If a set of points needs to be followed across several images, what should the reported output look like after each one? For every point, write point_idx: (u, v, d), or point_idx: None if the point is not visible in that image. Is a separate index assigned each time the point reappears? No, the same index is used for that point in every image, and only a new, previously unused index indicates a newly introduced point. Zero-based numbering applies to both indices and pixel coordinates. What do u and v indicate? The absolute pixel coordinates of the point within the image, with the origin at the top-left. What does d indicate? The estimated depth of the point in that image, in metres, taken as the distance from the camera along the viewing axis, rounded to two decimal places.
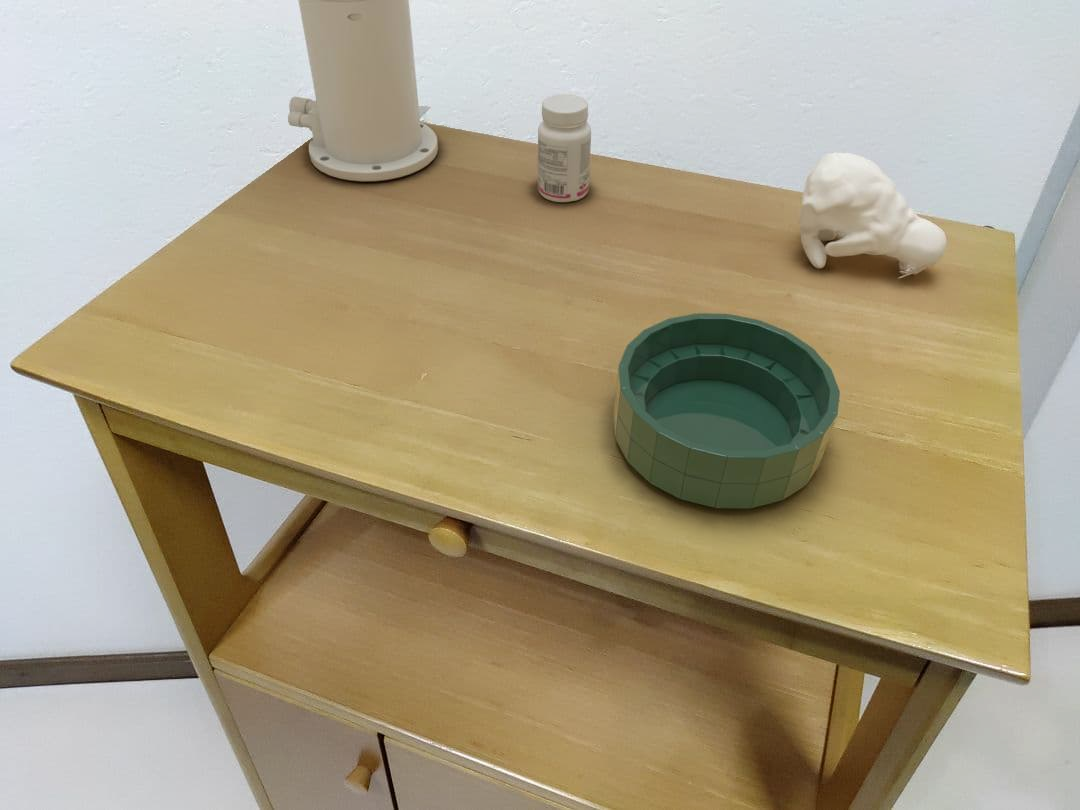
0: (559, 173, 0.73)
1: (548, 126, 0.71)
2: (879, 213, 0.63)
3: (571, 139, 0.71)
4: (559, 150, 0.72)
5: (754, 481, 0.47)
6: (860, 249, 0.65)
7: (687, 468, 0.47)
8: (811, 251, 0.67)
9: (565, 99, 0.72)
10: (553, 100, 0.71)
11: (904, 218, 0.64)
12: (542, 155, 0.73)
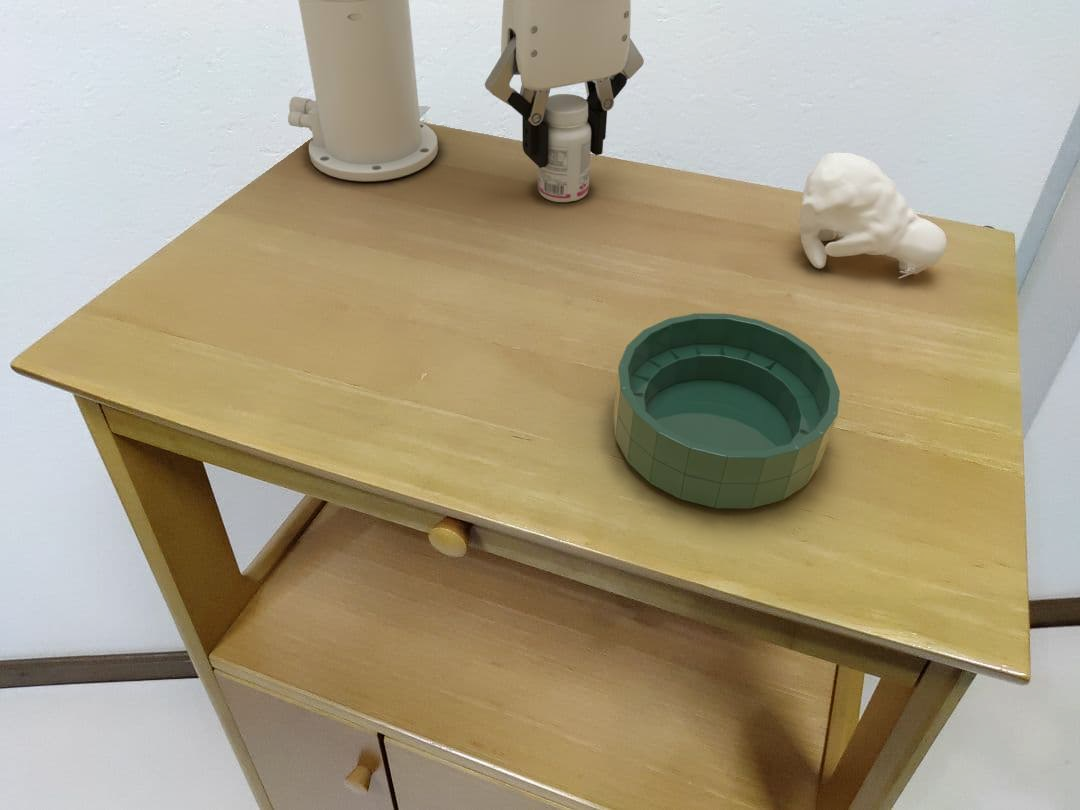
0: (559, 173, 0.73)
1: (548, 126, 0.71)
2: (879, 213, 0.63)
3: (571, 139, 0.71)
4: (559, 150, 0.72)
5: (754, 481, 0.47)
6: (860, 249, 0.65)
7: (687, 468, 0.47)
8: (811, 251, 0.67)
9: (565, 99, 0.72)
10: (553, 100, 0.71)
11: (904, 218, 0.64)
12: None
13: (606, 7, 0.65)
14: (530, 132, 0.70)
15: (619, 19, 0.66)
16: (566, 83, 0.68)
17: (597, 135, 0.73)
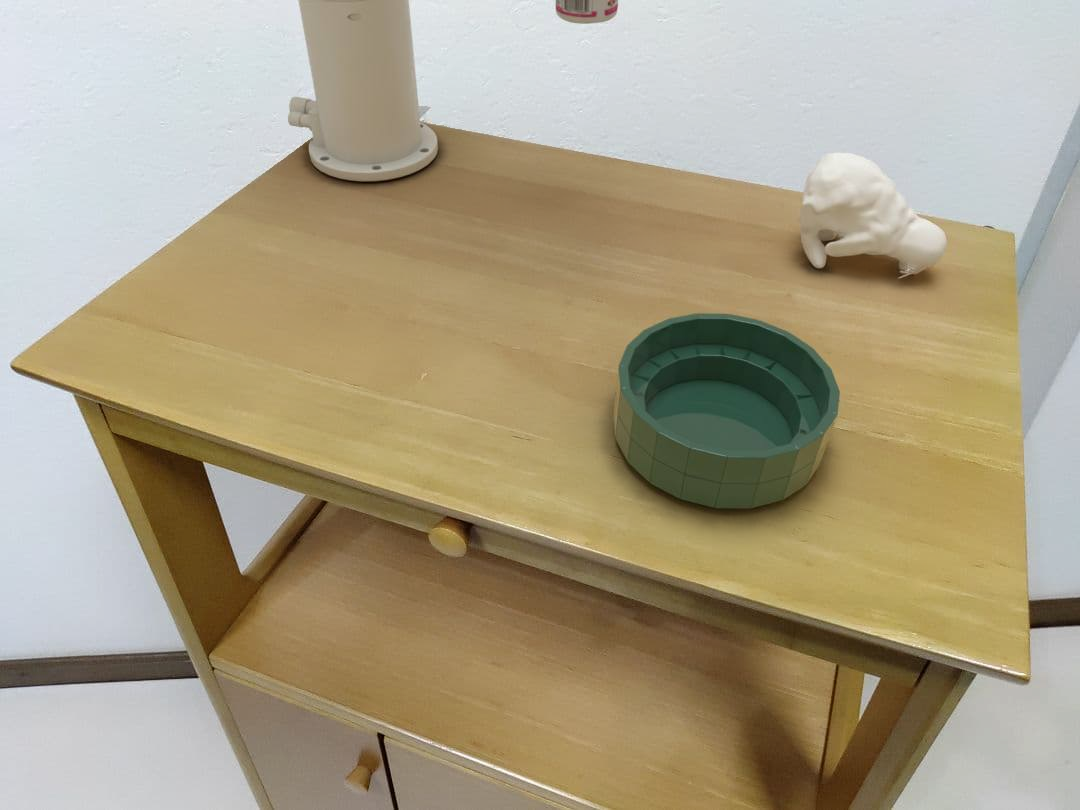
0: None
1: None
2: (879, 213, 0.63)
3: None
4: None
5: (754, 481, 0.47)
6: (861, 249, 0.65)
7: (687, 468, 0.47)
8: (811, 251, 0.67)
9: None
10: None
11: (905, 219, 0.64)
12: None
13: None
14: None
15: None
16: None
17: None
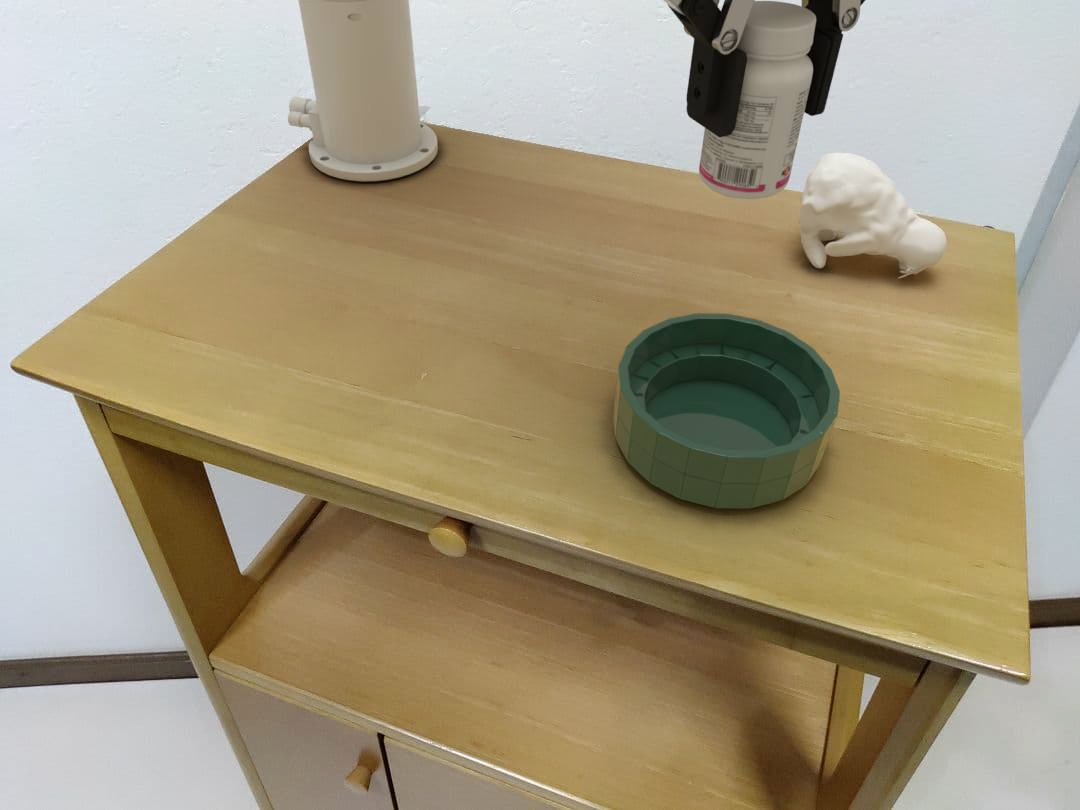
0: (752, 147, 0.40)
1: None
2: (879, 213, 0.63)
3: (784, 82, 0.38)
4: (759, 102, 0.39)
5: (754, 481, 0.47)
6: (860, 249, 0.65)
7: (687, 468, 0.47)
8: (811, 251, 0.67)
9: (771, 8, 0.39)
10: None
11: (904, 218, 0.64)
12: None
13: None
14: (711, 69, 0.38)
15: None
16: None
17: (822, 78, 0.40)
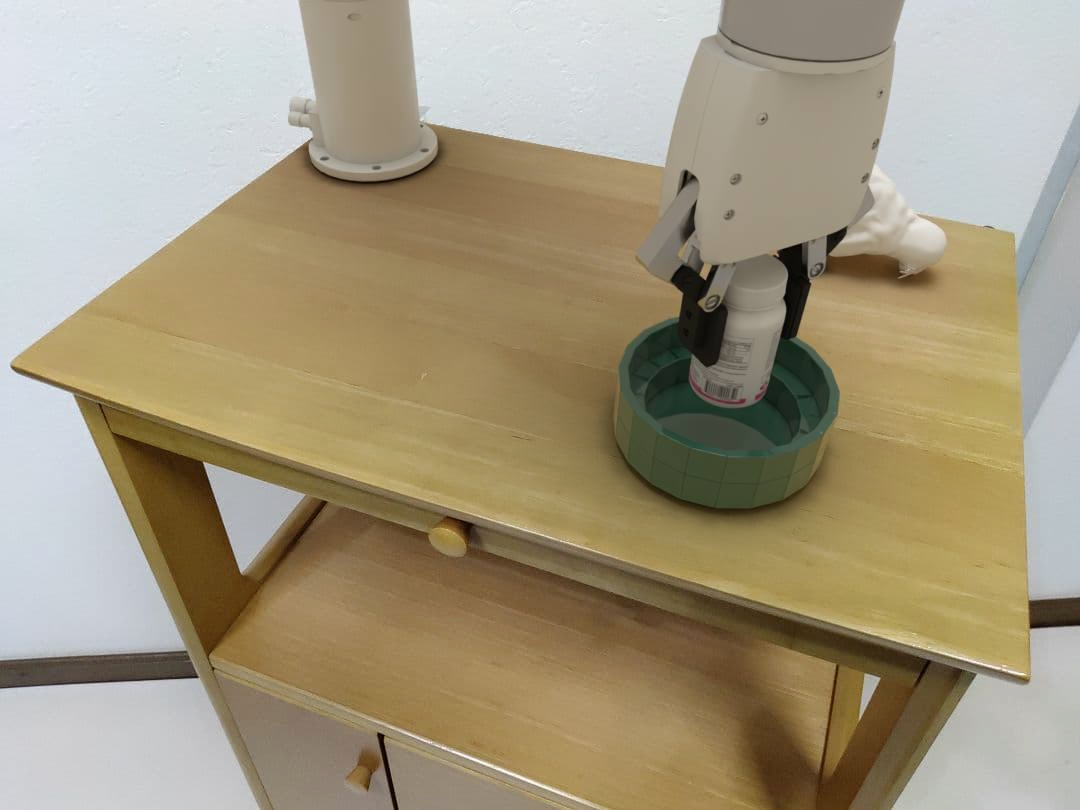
0: (734, 372, 0.47)
1: None
2: (879, 213, 0.63)
3: (761, 327, 0.45)
4: (739, 342, 0.45)
5: (754, 481, 0.47)
6: (860, 249, 0.65)
7: (687, 468, 0.47)
8: None
9: (749, 261, 0.45)
10: None
11: (904, 218, 0.64)
12: None
13: (851, 136, 0.38)
14: (697, 319, 0.44)
15: (865, 152, 0.40)
16: (768, 251, 0.41)
17: (793, 314, 0.46)
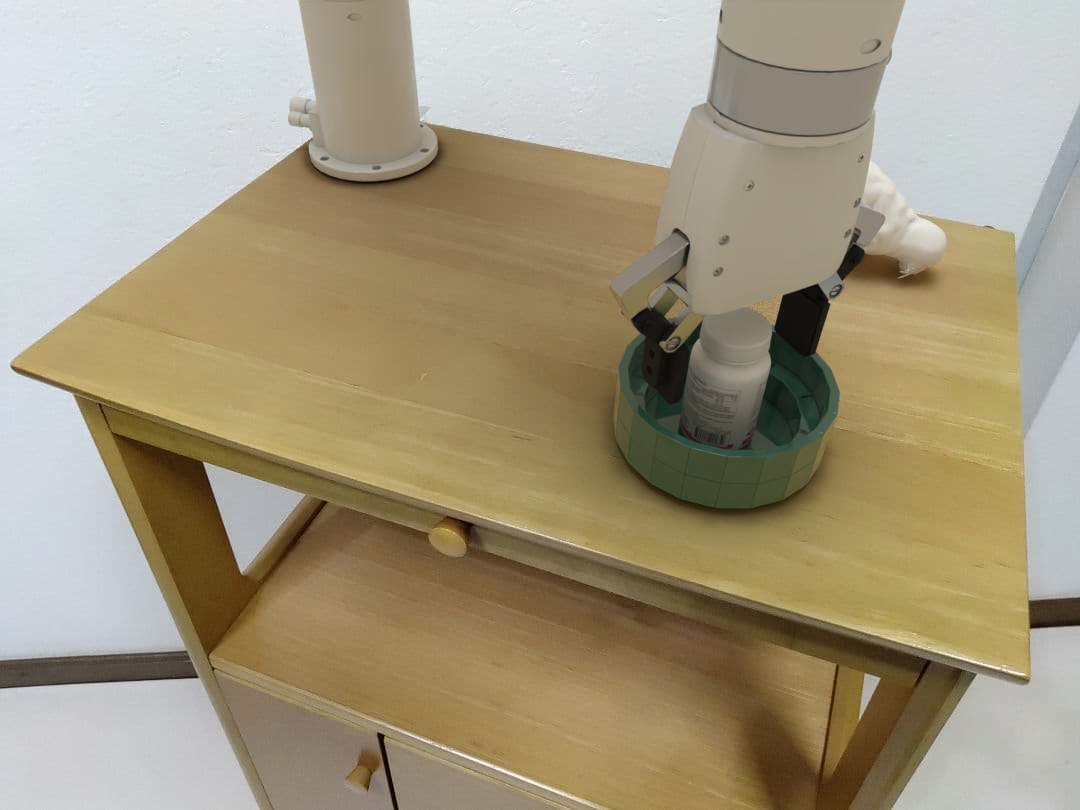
0: (722, 421, 0.49)
1: (711, 358, 0.48)
2: None
3: (746, 380, 0.47)
4: (726, 393, 0.48)
5: (754, 481, 0.47)
6: None
7: (687, 468, 0.47)
8: None
9: (736, 317, 0.48)
10: (718, 319, 0.48)
11: (904, 218, 0.64)
12: (697, 394, 0.49)
13: (834, 198, 0.40)
14: (660, 359, 0.45)
15: (847, 210, 0.42)
16: (755, 302, 0.43)
17: (813, 332, 0.49)
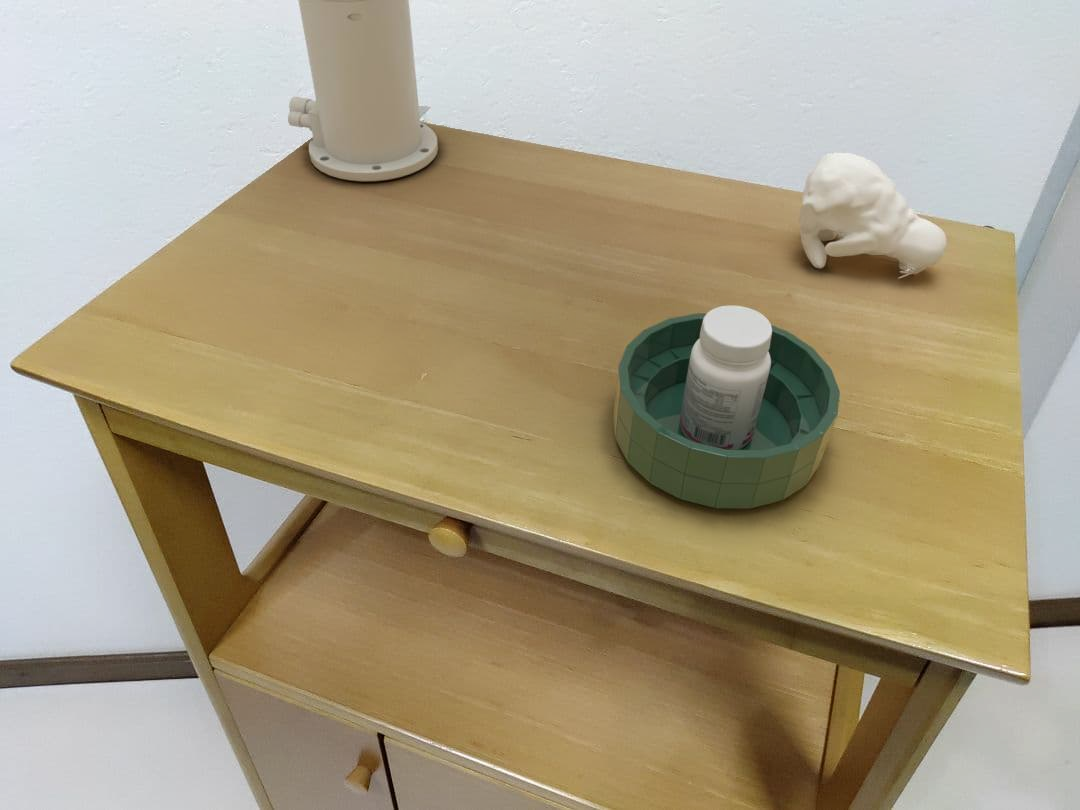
0: (722, 421, 0.49)
1: (711, 358, 0.48)
2: (879, 213, 0.63)
3: (746, 380, 0.47)
4: (726, 393, 0.48)
5: (754, 481, 0.47)
6: (860, 249, 0.65)
7: (687, 468, 0.47)
8: (811, 251, 0.67)
9: (736, 317, 0.48)
10: (718, 319, 0.48)
11: (904, 218, 0.64)
12: (697, 394, 0.49)
13: None
14: None
15: None
16: None
17: None
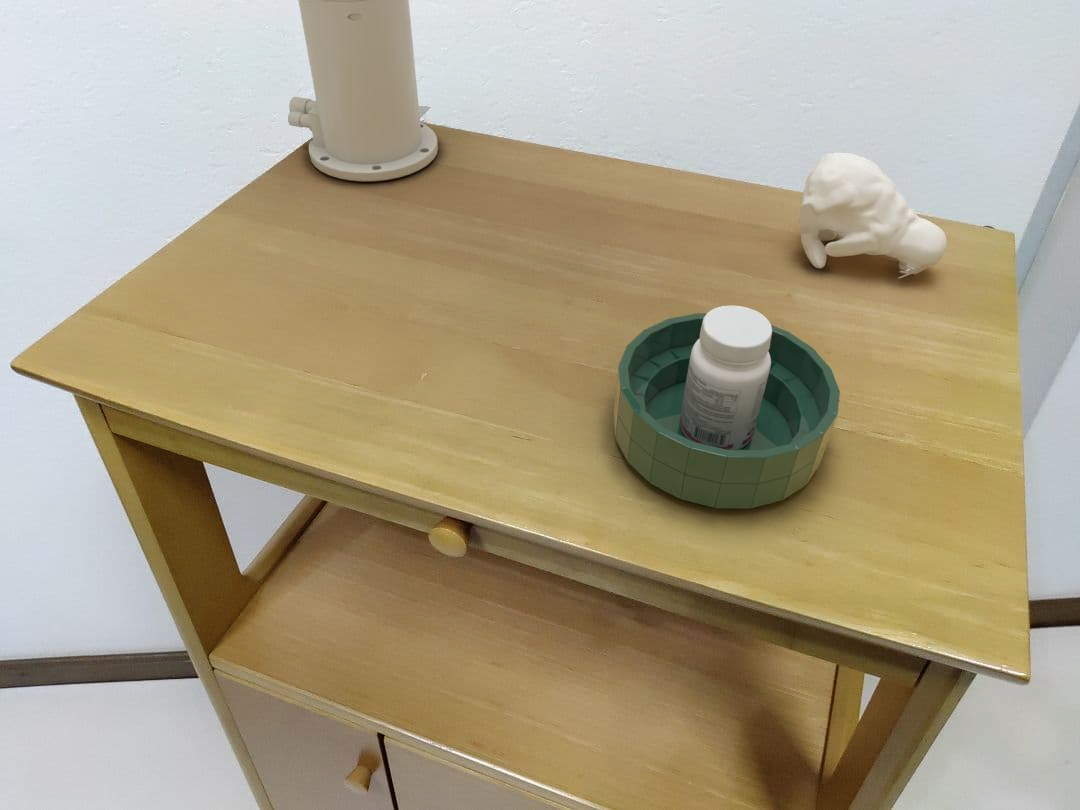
0: (722, 421, 0.49)
1: (711, 358, 0.48)
2: (879, 213, 0.63)
3: (746, 380, 0.47)
4: (726, 393, 0.48)
5: (754, 481, 0.47)
6: (860, 249, 0.65)
7: (687, 468, 0.47)
8: (811, 251, 0.67)
9: (736, 317, 0.48)
10: (718, 319, 0.48)
11: (904, 218, 0.64)
12: (697, 394, 0.49)
13: None
14: None
15: None
16: None
17: None
